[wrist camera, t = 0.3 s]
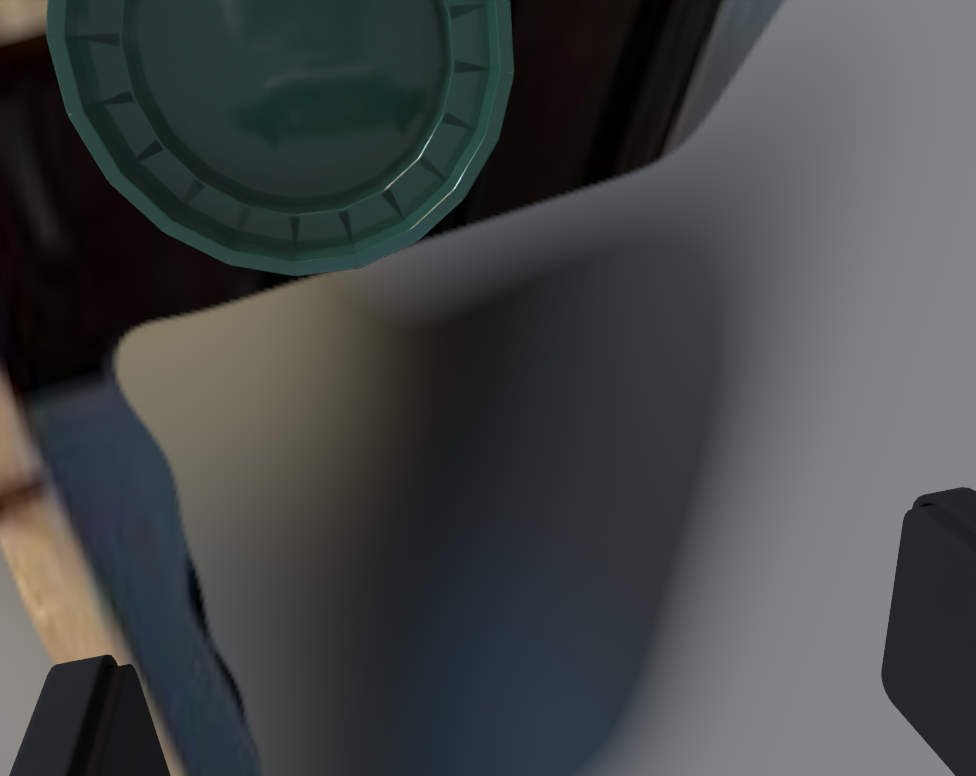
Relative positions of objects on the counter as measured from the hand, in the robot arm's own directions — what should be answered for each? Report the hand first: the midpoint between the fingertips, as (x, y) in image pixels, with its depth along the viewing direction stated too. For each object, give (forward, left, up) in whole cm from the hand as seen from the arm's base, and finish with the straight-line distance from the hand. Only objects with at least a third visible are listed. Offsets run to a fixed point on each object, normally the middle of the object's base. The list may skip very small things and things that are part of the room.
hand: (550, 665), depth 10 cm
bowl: (-6, -2, -30) cm, 30 cm away
